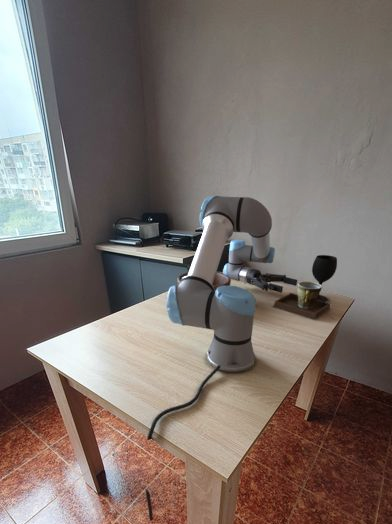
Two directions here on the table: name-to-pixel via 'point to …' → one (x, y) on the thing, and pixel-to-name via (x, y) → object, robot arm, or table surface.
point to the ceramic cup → (308, 294)
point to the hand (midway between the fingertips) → (289, 286)
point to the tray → (291, 305)
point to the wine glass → (324, 270)
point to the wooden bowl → (217, 282)
